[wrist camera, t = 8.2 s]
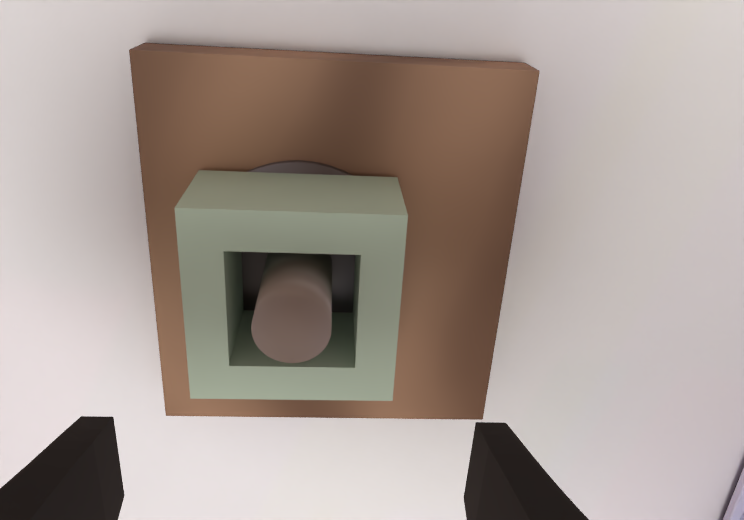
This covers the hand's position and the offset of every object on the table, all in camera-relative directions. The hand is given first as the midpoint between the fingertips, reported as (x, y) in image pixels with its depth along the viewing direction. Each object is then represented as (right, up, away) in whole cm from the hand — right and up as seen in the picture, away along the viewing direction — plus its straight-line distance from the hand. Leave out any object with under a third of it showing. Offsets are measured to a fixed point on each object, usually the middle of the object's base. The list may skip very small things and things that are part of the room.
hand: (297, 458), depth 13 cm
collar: (-1, +4, +6) cm, 8 cm away
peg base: (0, +5, +8) cm, 9 cm away
